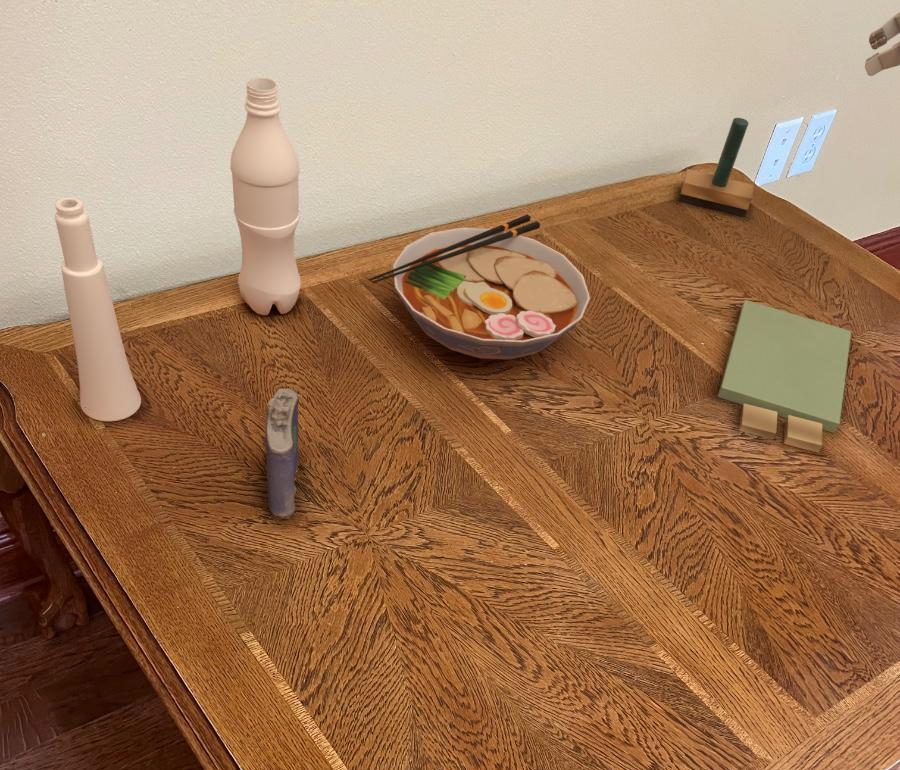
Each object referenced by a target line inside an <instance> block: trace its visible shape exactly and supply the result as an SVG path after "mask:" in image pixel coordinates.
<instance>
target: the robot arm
mask: <svg viewBox="0 0 900 770" xmlns="http://www.w3.org/2000/svg"><path fill="white" fill-rule="evenodd" d="M897 35H900V11H899V12H898V13H896V14H894V15H893V16H892V17H890V19H889V20H888V21H887V22H885V23H884V24H883V25H882V26H880V27H879V28H877V29H876V30H874V31H872V32H871V33H870V34H869V37H868V43H869V45H870V48H871V49H872V50H878V49H879V48H880V47H882V46H885V45H886V44H887V43H888V41H890V40H891V39H893V38H894V37H896V36H897ZM899 66H900V41H898V42H897V43H894V44H893V45H892V46H891V47H889V48H888V49H886V50H884V51H882V52H879V51H878V52H876V53H875V54H873V55H872V56H870V57H868V58H866V59H865V62H864V69H865V71H866V74H867V75H868V76H869V77H874V76H875V75H877V74H878V73H880V72H882V71H884V70H888V69H892V68H895V67H899Z"/></svg>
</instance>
